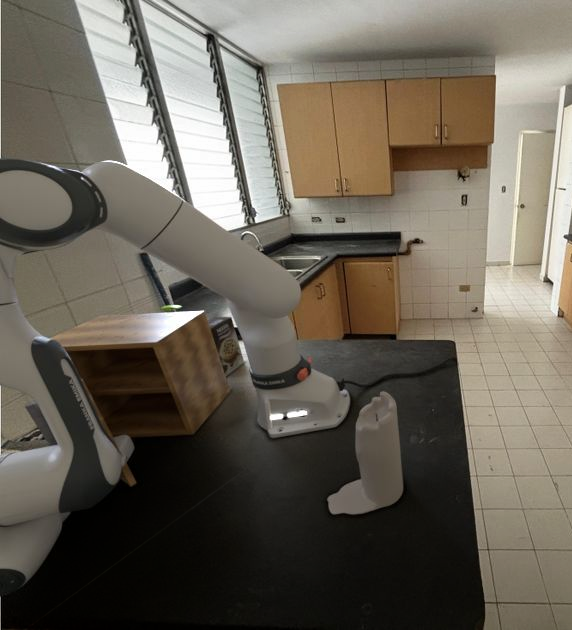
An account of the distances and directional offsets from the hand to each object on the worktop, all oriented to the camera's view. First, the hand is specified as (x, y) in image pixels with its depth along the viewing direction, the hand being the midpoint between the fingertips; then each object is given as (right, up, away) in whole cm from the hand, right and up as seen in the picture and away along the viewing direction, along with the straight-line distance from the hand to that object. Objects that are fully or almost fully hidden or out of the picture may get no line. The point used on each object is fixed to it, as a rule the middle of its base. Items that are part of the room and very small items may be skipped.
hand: (78, 442), depth 68 cm
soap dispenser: (-6, +10, +42) cm, 43 cm away
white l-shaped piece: (+59, -7, -6) cm, 60 cm away
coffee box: (+9, +9, +37) cm, 39 cm away
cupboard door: (0, -7, +1) cm, 7 cm away
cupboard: (+3, 0, +18) cm, 18 cm away
